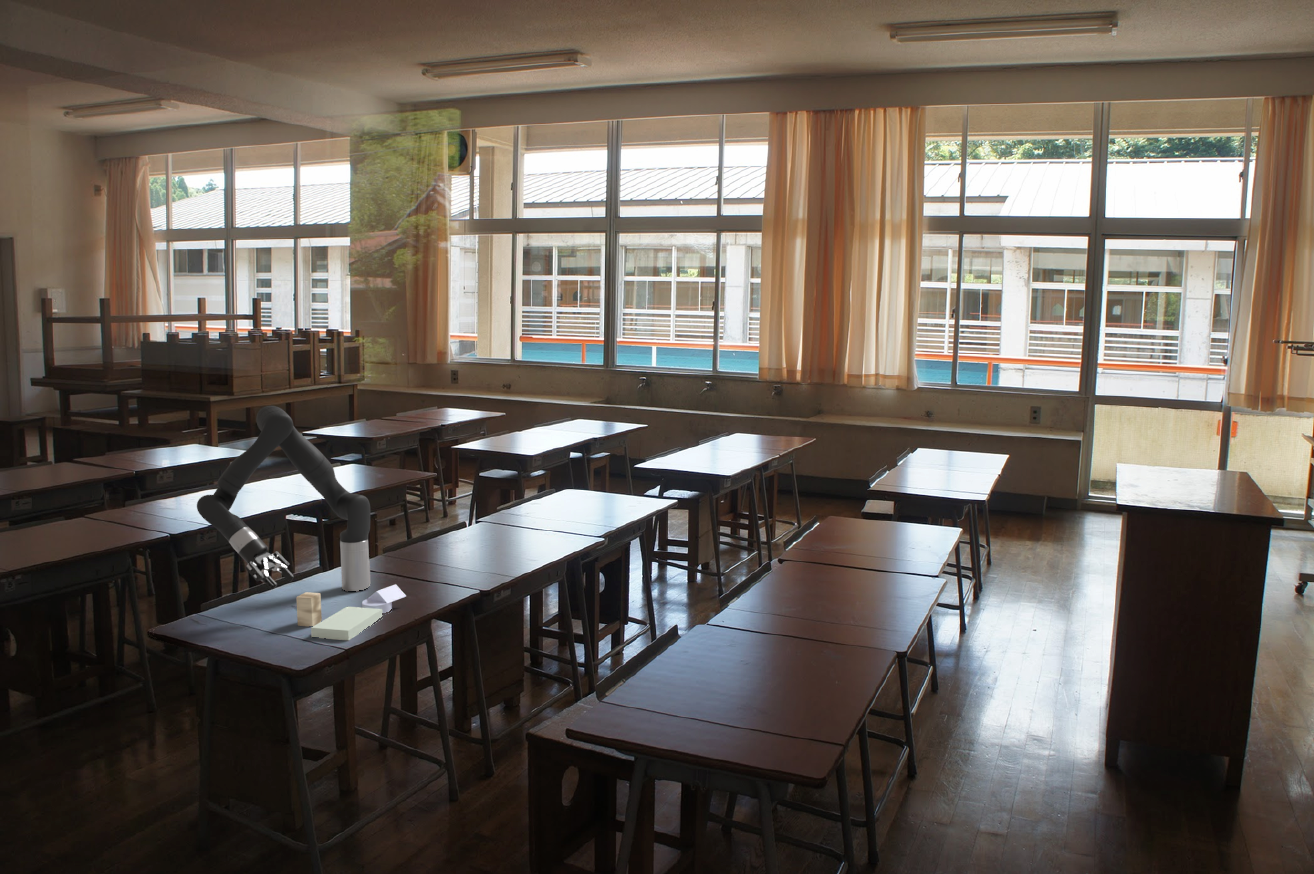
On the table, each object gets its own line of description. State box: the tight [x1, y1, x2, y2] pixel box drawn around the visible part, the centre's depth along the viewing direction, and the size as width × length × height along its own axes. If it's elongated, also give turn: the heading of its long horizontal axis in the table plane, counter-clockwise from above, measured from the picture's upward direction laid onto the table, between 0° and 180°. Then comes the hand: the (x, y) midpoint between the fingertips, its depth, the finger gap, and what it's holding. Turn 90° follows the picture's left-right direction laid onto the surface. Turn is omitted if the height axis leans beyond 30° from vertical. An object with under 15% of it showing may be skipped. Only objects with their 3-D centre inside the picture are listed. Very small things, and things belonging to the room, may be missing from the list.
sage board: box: [310, 606, 384, 641], centre depth 275 cm, size 20×12×3 cm, turn 169°
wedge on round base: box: [361, 583, 407, 613], centre depth 292 cm, size 9×7×13 cm
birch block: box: [296, 591, 323, 627], centre depth 278 cm, size 5×5×9 cm
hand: (283, 583), depth 278 cm, fingers open, 8 cm apart
